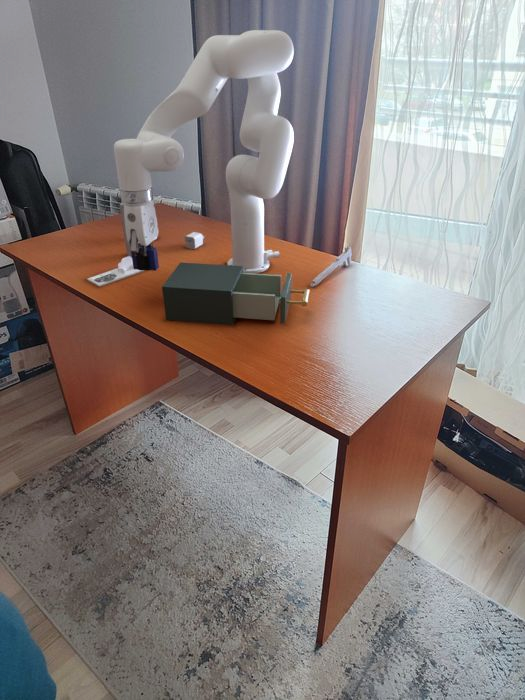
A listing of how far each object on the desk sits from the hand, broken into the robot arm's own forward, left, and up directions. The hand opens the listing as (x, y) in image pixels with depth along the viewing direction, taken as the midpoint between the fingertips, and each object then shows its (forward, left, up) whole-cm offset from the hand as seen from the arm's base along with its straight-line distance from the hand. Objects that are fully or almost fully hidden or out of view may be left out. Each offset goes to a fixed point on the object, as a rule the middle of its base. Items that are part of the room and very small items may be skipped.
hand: (146, 266), depth 129 cm
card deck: (0, 0, 0) cm, 0 cm away
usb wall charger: (-21, -33, -9) cm, 40 cm away
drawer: (-26, +20, -8) cm, 33 cm away
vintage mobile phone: (-1, -31, -9) cm, 32 cm away
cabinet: (-12, +12, -9) cm, 19 cm away
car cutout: (+7, -18, -9) cm, 21 cm away
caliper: (-51, +5, -9) cm, 52 cm away
